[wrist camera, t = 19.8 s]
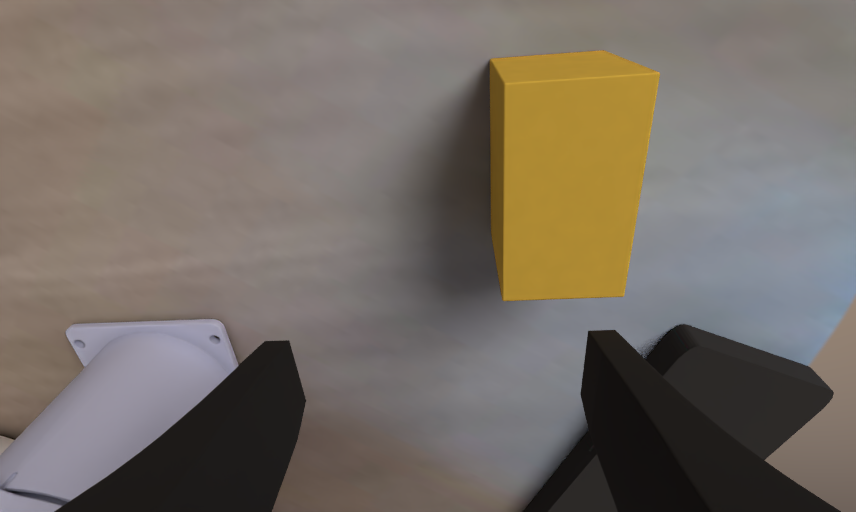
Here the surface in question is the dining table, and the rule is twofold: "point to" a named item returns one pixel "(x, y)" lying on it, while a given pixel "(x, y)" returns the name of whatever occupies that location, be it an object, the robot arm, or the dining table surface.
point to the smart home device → (704, 408)
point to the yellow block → (567, 171)
